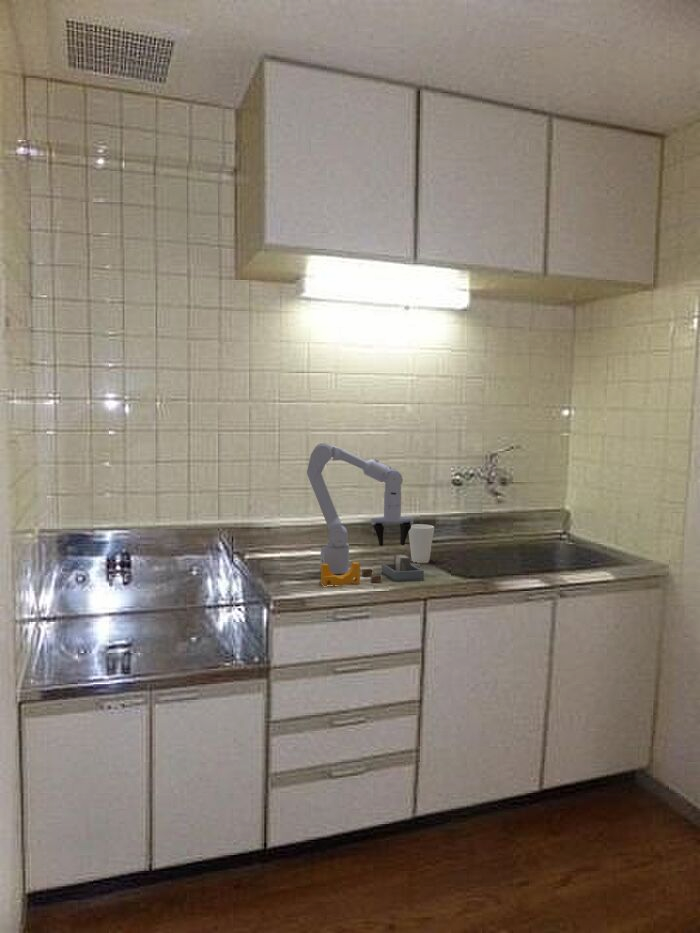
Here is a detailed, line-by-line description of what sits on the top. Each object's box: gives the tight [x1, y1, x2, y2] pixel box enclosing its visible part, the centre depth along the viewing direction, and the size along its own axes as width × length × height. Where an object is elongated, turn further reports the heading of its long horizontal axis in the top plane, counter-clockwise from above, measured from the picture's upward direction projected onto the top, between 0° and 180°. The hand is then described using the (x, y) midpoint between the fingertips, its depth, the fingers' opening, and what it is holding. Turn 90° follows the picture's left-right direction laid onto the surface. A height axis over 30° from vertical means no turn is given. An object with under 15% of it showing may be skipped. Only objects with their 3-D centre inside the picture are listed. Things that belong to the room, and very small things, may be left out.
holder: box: [361, 568, 382, 584], centre depth 214 cm, size 3×11×2 cm, turn 16°
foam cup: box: [408, 523, 435, 564], centre depth 242 cm, size 10×9×13 cm
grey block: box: [393, 553, 411, 571], centre depth 218 cm, size 3×7×6 cm, turn 16°
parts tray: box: [381, 562, 425, 582], centre depth 218 cm, size 10×13×3 cm
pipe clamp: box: [320, 561, 361, 587], centre depth 207 cm, size 12×4×6 cm, turn 105°
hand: (391, 545), depth 224 cm, fingers open, 7 cm apart
